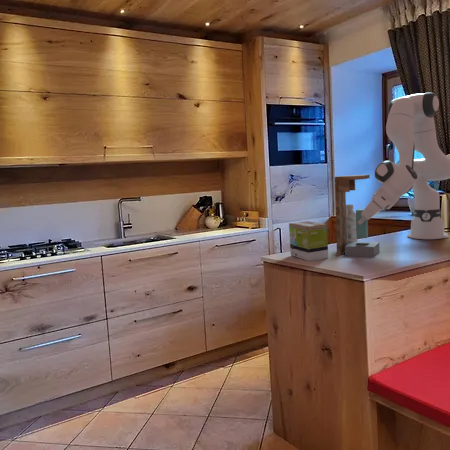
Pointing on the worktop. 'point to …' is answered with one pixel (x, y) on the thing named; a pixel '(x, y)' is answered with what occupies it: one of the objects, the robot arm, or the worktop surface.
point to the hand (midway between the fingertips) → (360, 222)
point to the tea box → (308, 240)
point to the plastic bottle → (351, 224)
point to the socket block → (362, 249)
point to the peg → (363, 228)
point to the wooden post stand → (343, 207)
